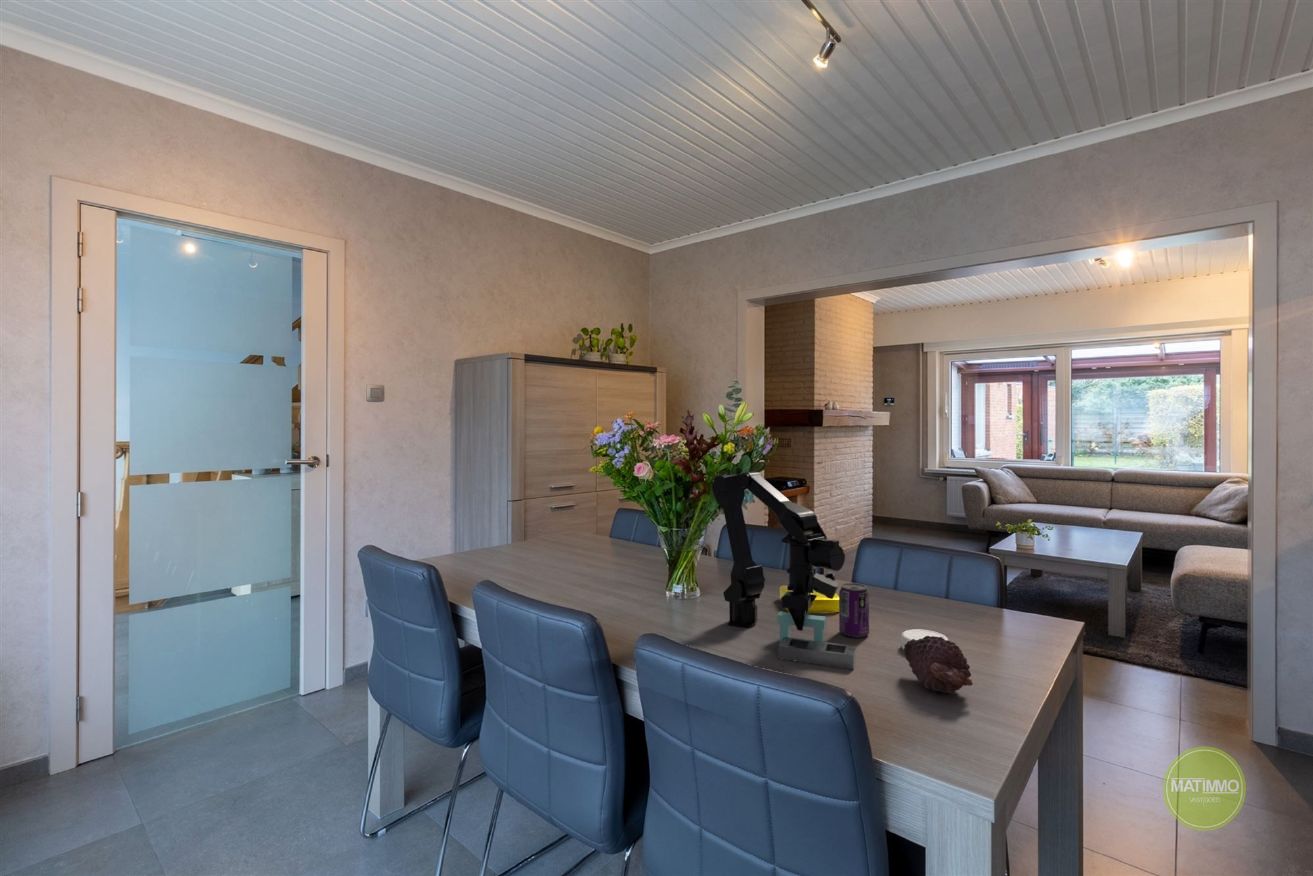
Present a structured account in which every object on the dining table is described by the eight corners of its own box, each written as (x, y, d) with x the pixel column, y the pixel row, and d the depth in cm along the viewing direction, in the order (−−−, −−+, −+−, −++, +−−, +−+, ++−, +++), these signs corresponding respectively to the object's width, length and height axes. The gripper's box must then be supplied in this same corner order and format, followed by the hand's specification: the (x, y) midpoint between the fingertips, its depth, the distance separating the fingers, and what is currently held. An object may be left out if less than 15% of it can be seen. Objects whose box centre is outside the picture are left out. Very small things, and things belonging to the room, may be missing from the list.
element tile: (842, 614, 167) (842, 597, 167) (788, 614, 167) (788, 597, 167) (828, 599, 182) (828, 583, 182) (778, 599, 182) (778, 583, 182)
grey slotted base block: (778, 658, 135) (778, 645, 134) (783, 649, 140) (783, 636, 140) (853, 669, 128) (853, 655, 128) (856, 659, 134) (856, 646, 134)
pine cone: (888, 672, 127) (888, 625, 127) (929, 668, 129) (929, 621, 129) (944, 711, 109) (944, 656, 109) (992, 705, 111) (992, 651, 111)
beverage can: (871, 639, 146) (871, 590, 146) (840, 638, 147) (840, 589, 147) (867, 630, 153) (866, 583, 153) (838, 628, 154) (837, 581, 154)
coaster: (921, 661, 133) (921, 645, 133) (892, 645, 143) (892, 630, 143) (958, 656, 136) (958, 640, 136) (927, 641, 145) (927, 626, 145)
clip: (777, 641, 145) (777, 615, 145) (780, 637, 148) (779, 611, 148) (824, 648, 141) (824, 620, 141) (826, 643, 144) (825, 616, 143)
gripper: (830, 575, 132) (831, 646, 133) (840, 558, 149) (841, 620, 150) (780, 571, 137) (780, 639, 137) (795, 554, 154) (795, 615, 154)
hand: (801, 628), depth 144 cm, fingers closed on clip, 3 cm apart
